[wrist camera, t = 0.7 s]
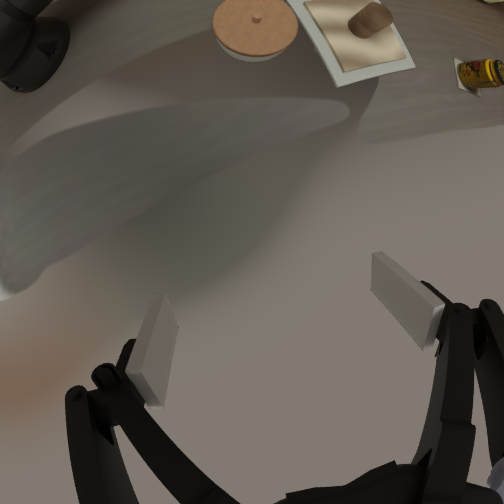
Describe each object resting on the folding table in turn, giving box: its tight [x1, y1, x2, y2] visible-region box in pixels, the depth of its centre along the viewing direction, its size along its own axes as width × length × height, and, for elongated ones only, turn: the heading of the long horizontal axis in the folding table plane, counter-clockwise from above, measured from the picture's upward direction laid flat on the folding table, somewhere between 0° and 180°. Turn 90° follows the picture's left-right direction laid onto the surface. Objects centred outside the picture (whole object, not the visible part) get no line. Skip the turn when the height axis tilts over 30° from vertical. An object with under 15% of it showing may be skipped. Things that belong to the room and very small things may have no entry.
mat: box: [286, 0, 415, 88], centre depth 31 cm, size 18×18×1 cm
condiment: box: [454, 58, 504, 97], centre depth 28 cm, size 7×8×12 cm
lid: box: [303, 0, 407, 73], centre depth 27 cm, size 14×14×8 cm
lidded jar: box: [213, 0, 298, 63], centre depth 27 cm, size 11×11×9 cm
